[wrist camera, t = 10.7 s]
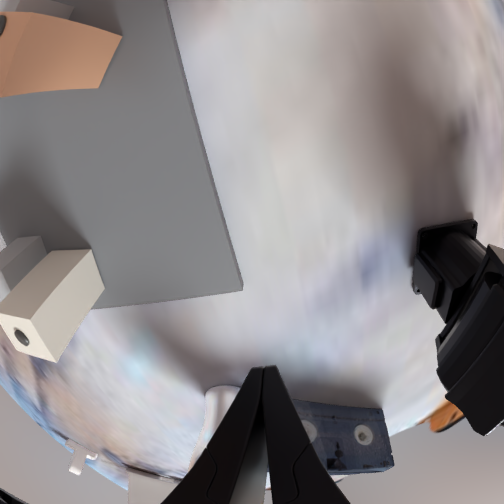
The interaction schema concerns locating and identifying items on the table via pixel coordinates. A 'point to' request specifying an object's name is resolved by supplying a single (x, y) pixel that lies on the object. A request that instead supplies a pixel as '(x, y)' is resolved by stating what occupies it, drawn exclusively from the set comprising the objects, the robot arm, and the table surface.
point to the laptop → (148, 487)
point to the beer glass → (213, 416)
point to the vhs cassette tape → (347, 437)
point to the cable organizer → (78, 456)
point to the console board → (115, 168)
